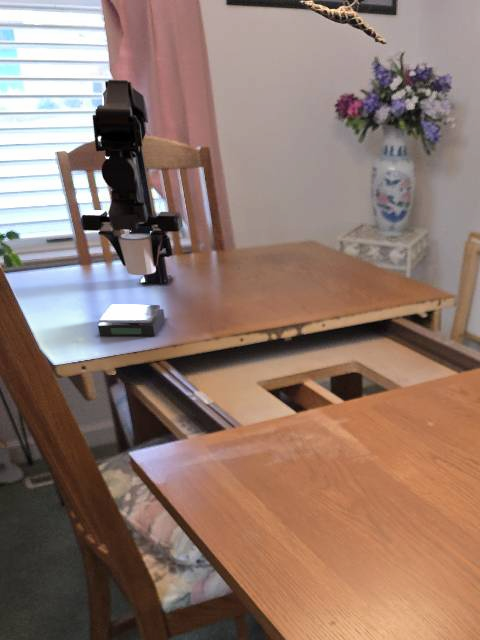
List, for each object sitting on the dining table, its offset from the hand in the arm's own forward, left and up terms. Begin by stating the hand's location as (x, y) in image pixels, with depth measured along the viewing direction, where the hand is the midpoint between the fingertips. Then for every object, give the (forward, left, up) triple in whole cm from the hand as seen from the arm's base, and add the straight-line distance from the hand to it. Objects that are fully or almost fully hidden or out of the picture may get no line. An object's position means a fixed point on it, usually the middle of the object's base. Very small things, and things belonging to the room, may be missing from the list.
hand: (140, 265), depth 147 cm
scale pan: (+5, -2, -9) cm, 10 cm away
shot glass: (0, 0, -1) cm, 1 cm away
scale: (+5, -2, -11) cm, 13 cm away
